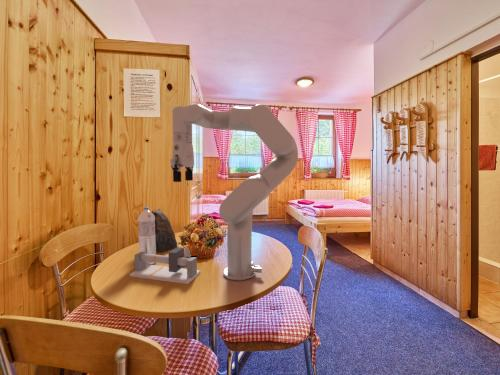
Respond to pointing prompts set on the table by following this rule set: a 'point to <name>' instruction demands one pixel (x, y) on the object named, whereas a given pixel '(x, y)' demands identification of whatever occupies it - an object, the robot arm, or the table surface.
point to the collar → (175, 259)
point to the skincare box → (187, 251)
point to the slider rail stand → (164, 268)
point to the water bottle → (147, 233)
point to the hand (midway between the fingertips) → (183, 181)
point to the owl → (163, 232)
